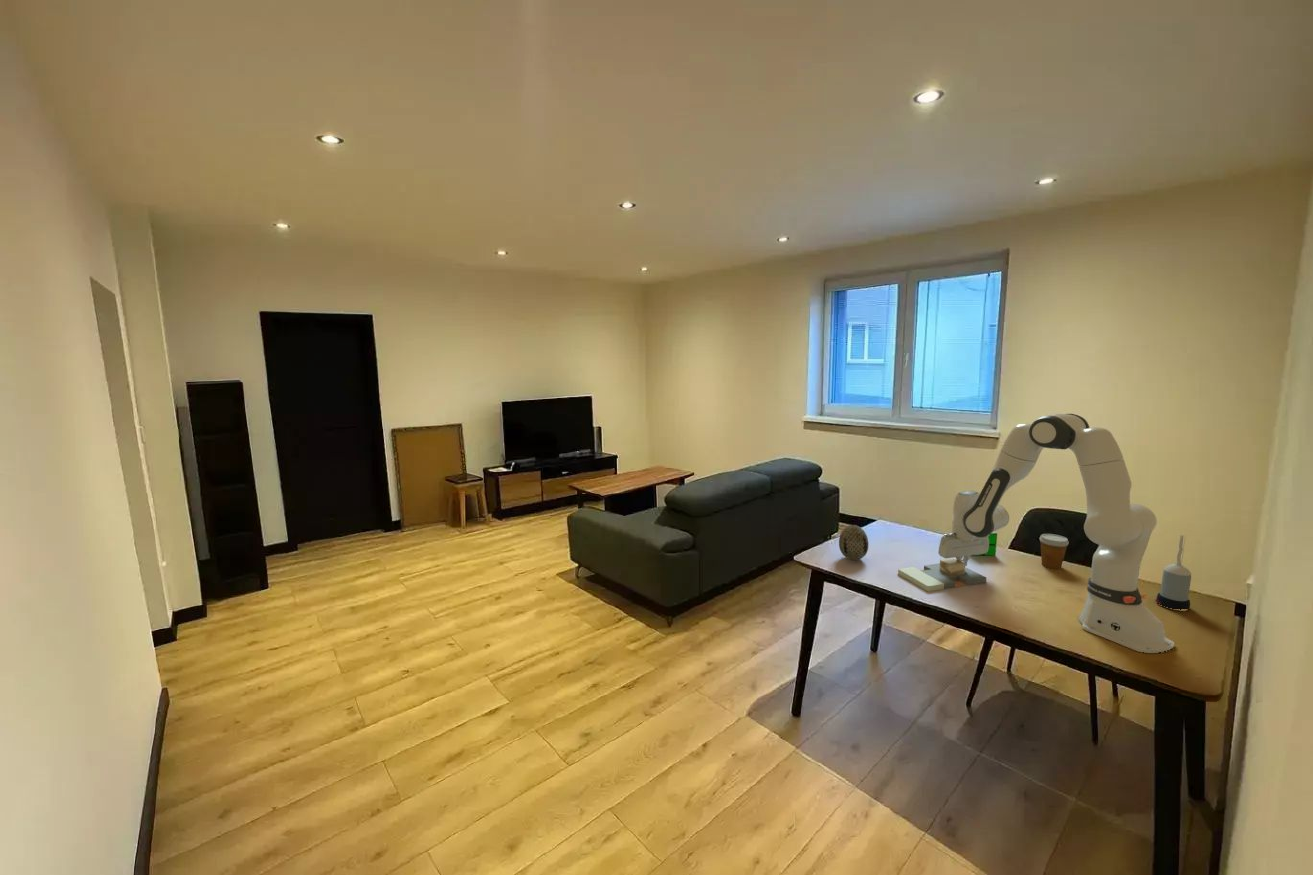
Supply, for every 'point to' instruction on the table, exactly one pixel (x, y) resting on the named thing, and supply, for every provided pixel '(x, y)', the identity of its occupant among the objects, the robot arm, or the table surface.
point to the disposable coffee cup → (1053, 550)
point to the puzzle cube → (991, 545)
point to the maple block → (952, 566)
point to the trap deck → (940, 577)
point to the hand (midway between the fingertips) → (962, 565)
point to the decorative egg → (853, 542)
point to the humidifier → (1175, 584)
